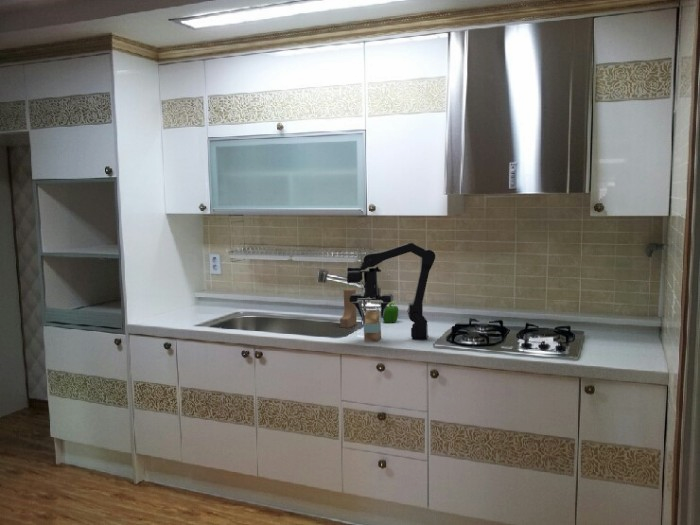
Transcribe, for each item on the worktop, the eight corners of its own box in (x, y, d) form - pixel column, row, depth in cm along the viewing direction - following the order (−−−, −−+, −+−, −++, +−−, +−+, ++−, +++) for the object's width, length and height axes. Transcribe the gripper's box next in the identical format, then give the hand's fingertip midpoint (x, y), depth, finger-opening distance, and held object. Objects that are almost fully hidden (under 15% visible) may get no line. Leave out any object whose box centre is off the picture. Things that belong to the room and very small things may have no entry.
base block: (381, 338, 275) (380, 330, 275) (377, 342, 269) (377, 333, 269) (368, 338, 277) (367, 329, 276) (364, 341, 271) (364, 332, 271)
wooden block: (347, 328, 301) (346, 291, 299) (339, 327, 303) (338, 291, 301) (357, 324, 308) (355, 288, 307) (349, 324, 311) (347, 288, 309)
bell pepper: (378, 322, 312) (377, 302, 311) (389, 319, 317) (388, 300, 316) (390, 324, 306) (389, 304, 305) (401, 321, 311) (401, 302, 310)
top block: (380, 330, 274) (380, 321, 274) (377, 333, 269) (376, 323, 268) (367, 329, 276) (367, 320, 276) (364, 332, 271) (363, 323, 270)
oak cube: (379, 321, 274) (378, 310, 273) (376, 323, 269) (375, 312, 269) (368, 321, 275) (368, 310, 275) (365, 323, 271) (364, 312, 270)
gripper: (395, 279, 275) (397, 314, 277) (355, 279, 281) (356, 313, 282) (389, 283, 265) (391, 319, 266) (348, 283, 270) (349, 318, 272)
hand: (372, 317), depth 272 cm, fingers open, 9 cm apart
